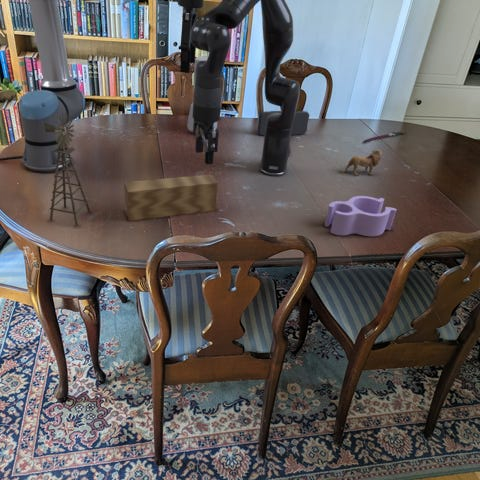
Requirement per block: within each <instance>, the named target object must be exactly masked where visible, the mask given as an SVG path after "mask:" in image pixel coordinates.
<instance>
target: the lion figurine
mask: <svg viewBox="0 0 480 480" xmlns="http://www.w3.org/2000/svg"><path fill="white" fill-rule="evenodd" d="M382 157H383V153H382V151H381V150H380V149H374V150H372V152H371V153H370V154H369V155H367V156H365V157H364V156H359V155H354V156H352V157H351V158H350V160H349V161H348V163H347V165H346V166H345V168H344V169H345V170H344V172H343V173H344V174H346V173H347V172H349V168H350V167H353V169H352V172H353V174H354V175H355V176H358V174H359V173H358V172H357V170H358V168H359V166H360V167H361V168H364V170H363V171H364V172H365V173H368V175H369V176H372V175H373V173H372V171H373V169H374V167H376V166H378V165H379V164H380V161H381V159H382ZM368 168H369V169H368Z"/></svg>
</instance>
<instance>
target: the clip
mask: <svg viewBox="0 0 480 480" xmlns="http://www.w3.org/2000/svg"><path fill="white" fill-rule="evenodd" d="M384 201H385V198H383V197H379V198H376V197H373V196H368V195H357V196H352V197H350V198H349V200H347V201H339V200H338V201H337V200H335V201H332V202H330V203H329V205H328V208H327V214H326V218H325V222H324V227H326V228H329V227H330V226H331V227H330V233H331V234H333V235H336V236H348V235H353V234H356V235H360V236H364V237H365V236H366V237H378V236H381V235H382V234H384V232H385V230H387V231H391V229H392V226H393V222H394V219H395V216H396V213H397V210H398V209H397V208H395V207H391V206H385V207H384V211H383V212H382V209H383V206H384Z"/></svg>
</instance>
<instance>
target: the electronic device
mask: <svg viewBox="0 0 480 480" xmlns="http://www.w3.org/2000/svg"><path fill="white" fill-rule="evenodd" d="M207 59H208V56H204V55H198V56H196V57H195V63H194V66H193V67H194V71H193V73H194V74H193V88H194V87H195V69H196V64H197V63H198V62H200V61H204V60H207ZM193 94H194V91H193V93H192V95H193ZM188 113H189V114H188V117H187V124H186V126H187V129H188V131H189V133H191V134H193V125H194V119H193V101H192V103H191V104H190V107H189V112H188ZM213 125H214V129H215V130H217V128H218V121H217V122H215V123H214V124H213Z"/></svg>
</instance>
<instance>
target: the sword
mask: <svg viewBox="0 0 480 480" xmlns="http://www.w3.org/2000/svg"><path fill="white" fill-rule="evenodd" d="M401 132H402V131H396V132H394V131H392V132H391V133H387V134H383V135H377V136H374V137H369V138H367V139H365V140H363V144H365V143H367V142H370V141H373V140H377V139H382V138H387V137H393V136H397V135H401V134H402V133H401ZM406 133H407V131H406V132H405V133H404V134H406Z"/></svg>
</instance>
